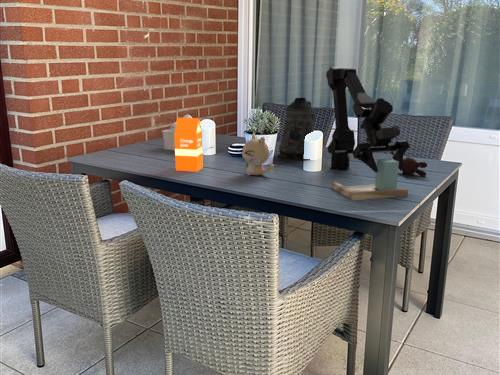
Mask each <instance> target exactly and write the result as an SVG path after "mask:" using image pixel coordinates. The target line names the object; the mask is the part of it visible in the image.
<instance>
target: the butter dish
mask: <svg viewBox="0 0 500 375" xmlns="http://www.w3.org/2000/svg"><path fill="white" fill-rule="evenodd" d="M182 118H193V116H191V114H185V115H184V116H183V117H182ZM199 121H200V123H201V122H202V121H201V120H199ZM176 123H177V121H175V122H173V123H172V128H169V129H164V130H161V133H162V141H163V142H162V144H163V147H162V148H163V150H167V151H174V152H175V135H174V133H175V129H176Z"/></svg>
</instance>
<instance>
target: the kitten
mask: <svg viewBox="0 0 500 375" xmlns="http://www.w3.org/2000/svg"><path fill="white" fill-rule="evenodd" d="M265 140H266V139H265V137H264V136H262V137H260V138H258V137H257V136H256V133H255V132H253V133H252V134H251V139H249V140H248V141H246V142H245V144H244V145H243V147H242V149H241V153H242V154H241V156H242V159H243V160H244V161H245V166H246V169H245V170H246V171H245V173H246V175H247V176H260V175H263V174H268V173H271V171H273V170H274V168H275V165H274V163H271V164H269V166H268V167H267V168H266V169H265V168H264V166H263V165H264V164H265V163H266V162H268V160H269V159H270V158H269V157H270V150H269V146H268V145H267V143H266V141H265Z"/></svg>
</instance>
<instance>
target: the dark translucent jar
mask: <svg viewBox="0 0 500 375" xmlns="http://www.w3.org/2000/svg"><path fill="white" fill-rule="evenodd" d="M294 98H295V99H294V101H292V102H291V103H290V104H288V105H287V106H286V108H285V109H284V110H285V113H286V114H285V115H286V117H285V123H284V124H285V125H284V128H283V133H282V139H281V141H280V144H279V147H278V151H279V157H281V158H283V159H287V160H295V161H301V160H303V154H304V139H305V136H306V135H307V134H309V133H311V132H313V131H314V125H315V120H316V113H315V109H314V108H313V107H312V103H311V101H308V100H307V99H306V98H305V97H294Z"/></svg>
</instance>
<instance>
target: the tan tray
mask: <svg viewBox="0 0 500 375" xmlns="http://www.w3.org/2000/svg"><path fill="white" fill-rule="evenodd" d="M331 188H332V189H333V190H335V191H336V192H338V193H339V194H341V195H343V196H345V197H346V198H348V199H350V200H351V201H362V200H363V201H365V200H372V199H373V200H375V199H385V198H387V199H388V198H397V197H408V195H409V194H408V193H409V189H408V188H405V187H404V188H403V187H402V188H396V189H391V190H377V189H375V183H374V184H360V185H351V186H350V185H349V186H344V185H342V184H341V183H339V182H337V181H331Z"/></svg>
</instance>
